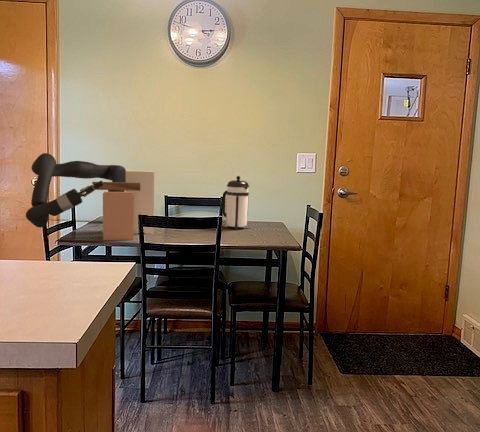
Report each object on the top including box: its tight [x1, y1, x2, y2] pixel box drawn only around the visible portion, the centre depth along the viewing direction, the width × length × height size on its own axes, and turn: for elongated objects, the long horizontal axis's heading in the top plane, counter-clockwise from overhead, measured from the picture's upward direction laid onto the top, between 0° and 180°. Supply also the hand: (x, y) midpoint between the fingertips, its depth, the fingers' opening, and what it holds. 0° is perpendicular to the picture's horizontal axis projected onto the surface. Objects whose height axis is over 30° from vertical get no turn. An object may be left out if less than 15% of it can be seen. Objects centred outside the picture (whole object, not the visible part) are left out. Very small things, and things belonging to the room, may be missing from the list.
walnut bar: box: [91, 181, 140, 191], centre depth 213 cm, size 4×22×4 cm, turn 103°
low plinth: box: [102, 191, 135, 241], centre depth 215 cm, size 10×14×22 cm
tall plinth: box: [125, 169, 155, 235], centre depth 231 cm, size 10×14×32 cm
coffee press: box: [221, 175, 250, 231], centre depth 255 cm, size 17×16×30 cm
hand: (102, 182), depth 211 cm, fingers closed on walnut bar, 3 cm apart
